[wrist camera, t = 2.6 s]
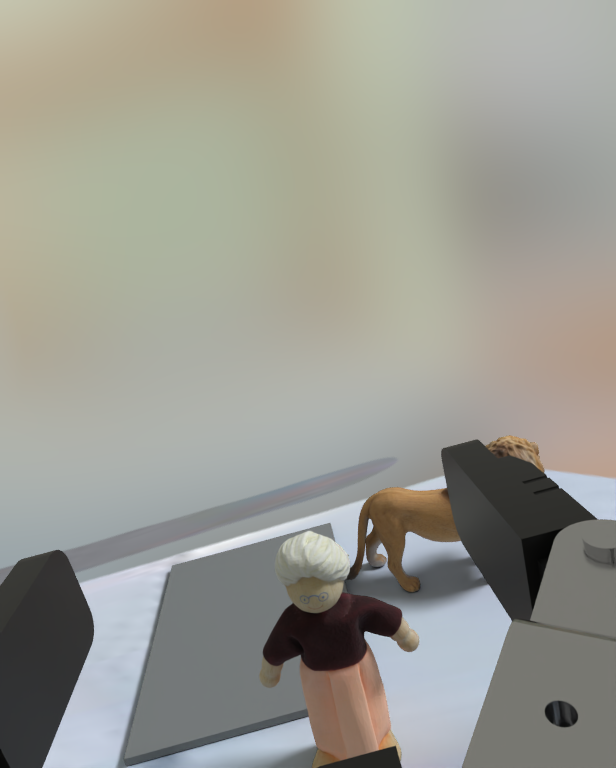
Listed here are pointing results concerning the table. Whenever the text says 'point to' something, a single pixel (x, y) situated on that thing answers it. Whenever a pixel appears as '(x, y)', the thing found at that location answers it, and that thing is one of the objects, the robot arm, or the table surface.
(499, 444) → the lion figurine
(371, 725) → the grandmother figurine
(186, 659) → the mat
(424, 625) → the table surface
